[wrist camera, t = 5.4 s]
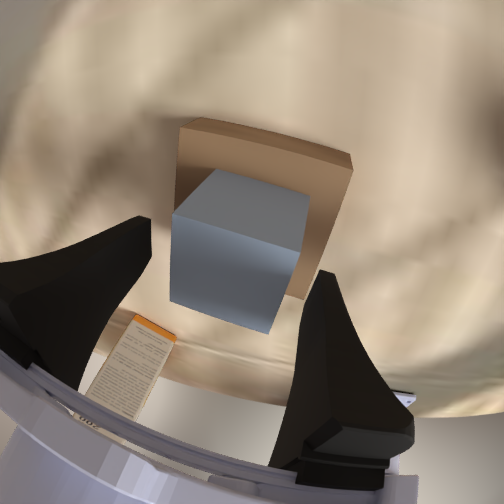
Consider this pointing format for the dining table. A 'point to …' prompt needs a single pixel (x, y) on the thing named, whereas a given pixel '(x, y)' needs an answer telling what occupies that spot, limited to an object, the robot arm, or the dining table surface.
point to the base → (269, 177)
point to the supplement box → (130, 371)
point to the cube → (236, 248)
